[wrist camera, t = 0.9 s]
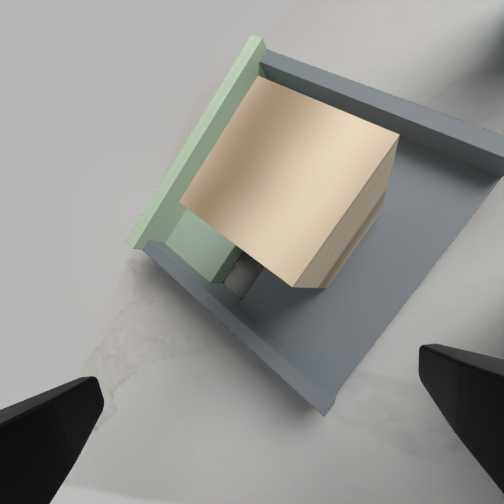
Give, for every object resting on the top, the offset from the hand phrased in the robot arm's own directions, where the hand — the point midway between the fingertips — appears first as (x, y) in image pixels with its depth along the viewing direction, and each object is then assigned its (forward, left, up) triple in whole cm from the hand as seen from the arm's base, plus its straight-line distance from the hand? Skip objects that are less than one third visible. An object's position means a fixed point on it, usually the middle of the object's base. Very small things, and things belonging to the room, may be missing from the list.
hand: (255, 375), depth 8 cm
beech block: (+4, -5, -12) cm, 14 cm away
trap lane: (+6, -5, -14) cm, 16 cm away
